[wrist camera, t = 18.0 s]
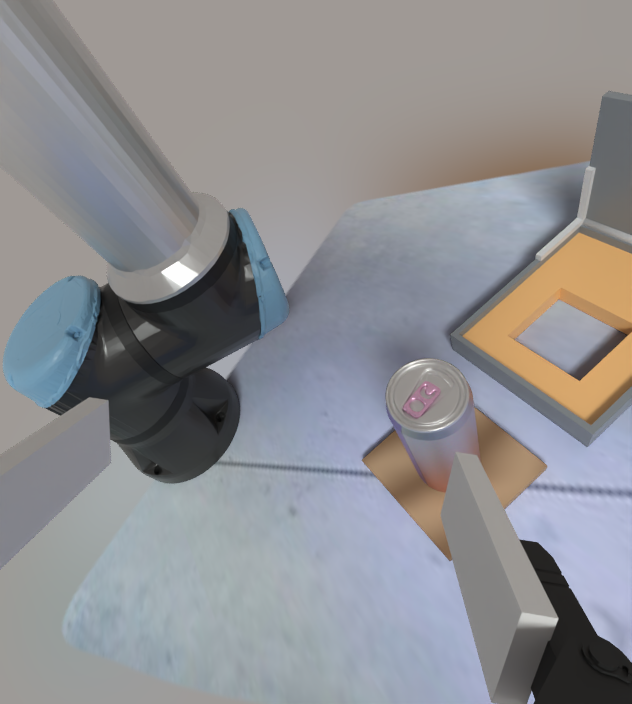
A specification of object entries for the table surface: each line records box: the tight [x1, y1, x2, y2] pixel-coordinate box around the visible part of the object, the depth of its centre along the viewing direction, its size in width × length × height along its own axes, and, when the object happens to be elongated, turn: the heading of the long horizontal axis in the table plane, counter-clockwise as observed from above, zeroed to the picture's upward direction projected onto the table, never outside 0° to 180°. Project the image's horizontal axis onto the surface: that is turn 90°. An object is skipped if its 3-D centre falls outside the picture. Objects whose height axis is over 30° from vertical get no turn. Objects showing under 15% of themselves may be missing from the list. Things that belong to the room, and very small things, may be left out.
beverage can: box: [385, 358, 481, 493], centre depth 35 cm, size 6×6×15 cm
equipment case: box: [450, 91, 632, 447], centre depth 38 cm, size 16×21×17 cm
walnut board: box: [362, 407, 547, 561], centre depth 41 cm, size 12×12×1 cm
